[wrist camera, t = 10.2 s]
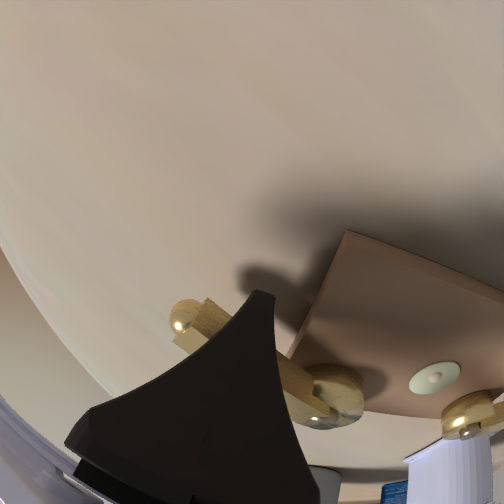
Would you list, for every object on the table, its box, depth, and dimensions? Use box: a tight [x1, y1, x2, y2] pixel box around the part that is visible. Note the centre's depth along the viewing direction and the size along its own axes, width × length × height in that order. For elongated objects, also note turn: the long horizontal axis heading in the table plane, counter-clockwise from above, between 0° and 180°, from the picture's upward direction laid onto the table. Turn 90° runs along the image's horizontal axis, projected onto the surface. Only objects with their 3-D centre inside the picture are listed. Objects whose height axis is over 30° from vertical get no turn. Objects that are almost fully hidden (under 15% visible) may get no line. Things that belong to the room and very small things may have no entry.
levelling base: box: [286, 230, 504, 419], centre depth 11 cm, size 10×16×2 cm, turn 79°
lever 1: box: [169, 298, 364, 430], centre depth 12 cm, size 11×4×2 cm, turn 50°
